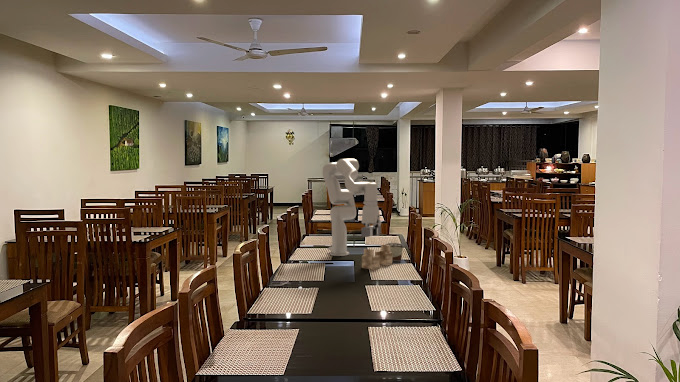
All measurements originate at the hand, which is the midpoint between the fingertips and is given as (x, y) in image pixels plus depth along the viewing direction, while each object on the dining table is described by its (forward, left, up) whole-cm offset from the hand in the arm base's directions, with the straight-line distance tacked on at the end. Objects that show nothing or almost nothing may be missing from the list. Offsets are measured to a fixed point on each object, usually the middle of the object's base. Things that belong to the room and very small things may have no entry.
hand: (371, 234), depth 296 cm
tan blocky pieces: (+4, 0, -18) cm, 18 cm away
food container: (+3, +19, -18) cm, 27 cm away
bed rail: (0, 0, 0) cm, 0 cm away
